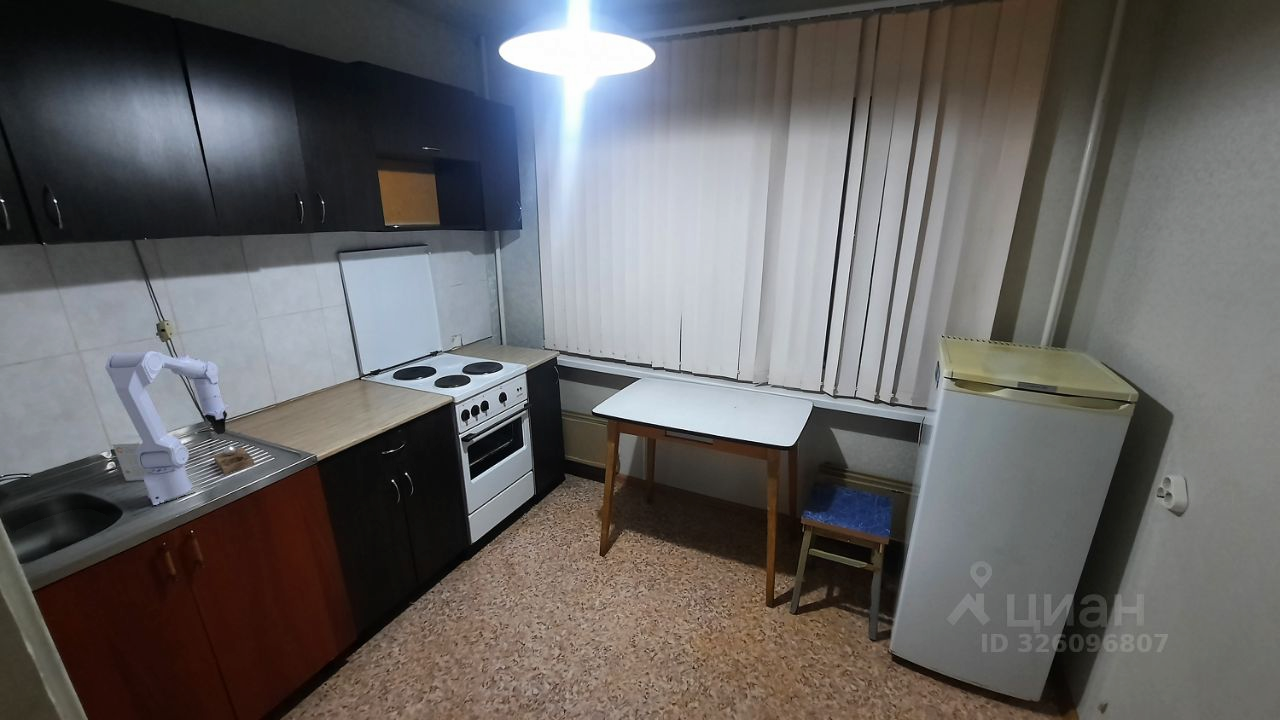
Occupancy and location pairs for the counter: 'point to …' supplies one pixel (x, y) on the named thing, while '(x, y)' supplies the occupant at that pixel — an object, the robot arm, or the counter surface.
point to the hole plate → (233, 461)
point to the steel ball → (229, 450)
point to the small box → (129, 457)
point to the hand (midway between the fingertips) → (221, 433)
